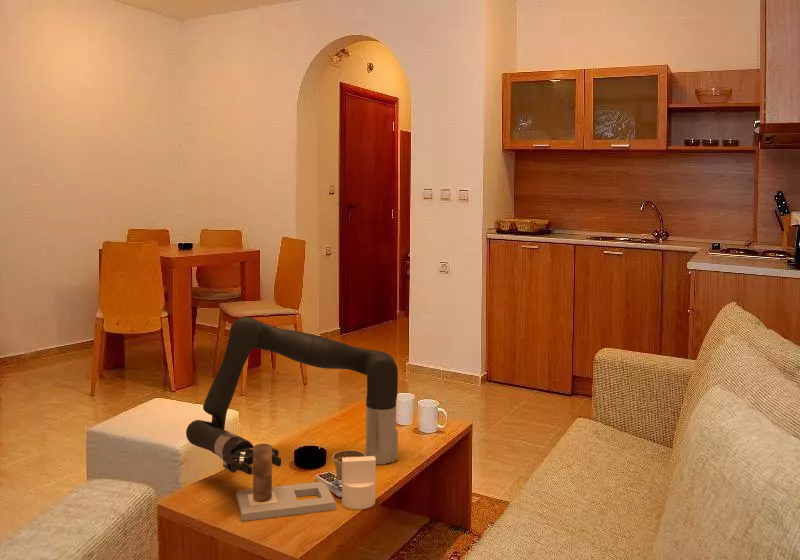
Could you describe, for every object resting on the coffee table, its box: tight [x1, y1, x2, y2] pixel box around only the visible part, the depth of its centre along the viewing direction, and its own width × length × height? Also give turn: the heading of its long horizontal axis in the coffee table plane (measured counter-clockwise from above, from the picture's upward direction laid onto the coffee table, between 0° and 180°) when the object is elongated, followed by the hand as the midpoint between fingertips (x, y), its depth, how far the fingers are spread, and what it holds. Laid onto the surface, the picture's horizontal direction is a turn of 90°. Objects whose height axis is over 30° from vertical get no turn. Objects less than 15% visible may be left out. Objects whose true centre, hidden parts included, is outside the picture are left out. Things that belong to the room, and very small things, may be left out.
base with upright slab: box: [341, 456, 377, 510], centre depth 195 cm, size 9×9×12 cm
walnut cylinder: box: [252, 443, 273, 502], centre depth 191 cm, size 5×5×14 cm
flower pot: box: [331, 449, 366, 480], centre depth 205 cm, size 9×9×9 cm
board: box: [236, 481, 337, 522], centre depth 194 cm, size 24×14×2 cm, turn 108°
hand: (265, 466), depth 189 cm, fingers open, 8 cm apart
